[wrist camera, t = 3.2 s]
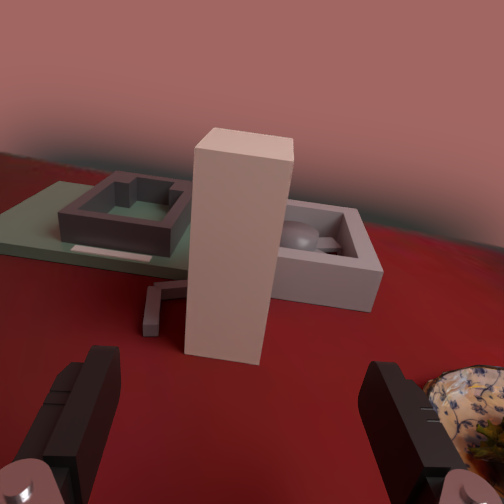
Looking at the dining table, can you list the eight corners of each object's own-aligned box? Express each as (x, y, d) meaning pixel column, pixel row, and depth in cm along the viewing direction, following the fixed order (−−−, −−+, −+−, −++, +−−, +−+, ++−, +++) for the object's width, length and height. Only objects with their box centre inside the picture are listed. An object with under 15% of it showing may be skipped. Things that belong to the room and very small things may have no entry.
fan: (126, 333, 24) (124, 285, 22) (192, 218, 40) (194, 185, 38) (389, 373, 23) (407, 327, 22) (348, 241, 39) (356, 209, 38)
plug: (184, 353, 23) (194, 147, 17) (205, 292, 28) (218, 122, 23) (258, 365, 23) (294, 161, 17) (264, 301, 28) (292, 133, 23)
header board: (-36, 248, 30) (-47, 205, 28) (59, 189, 42) (56, 157, 40) (197, 283, 29) (200, 241, 28) (224, 213, 42) (227, 182, 40)
